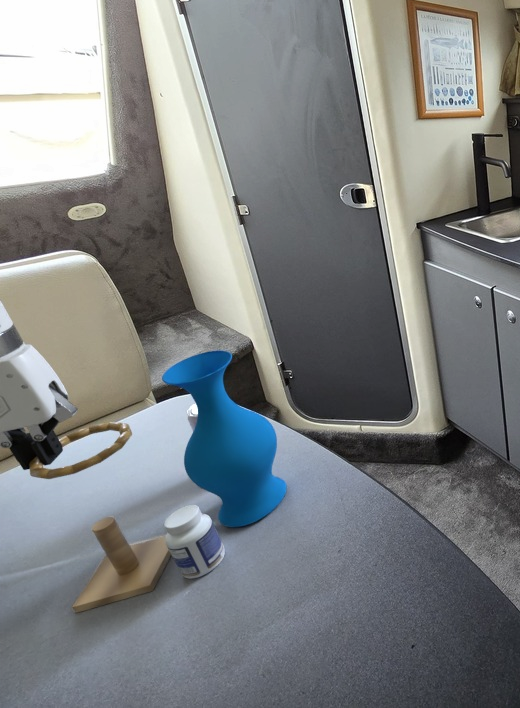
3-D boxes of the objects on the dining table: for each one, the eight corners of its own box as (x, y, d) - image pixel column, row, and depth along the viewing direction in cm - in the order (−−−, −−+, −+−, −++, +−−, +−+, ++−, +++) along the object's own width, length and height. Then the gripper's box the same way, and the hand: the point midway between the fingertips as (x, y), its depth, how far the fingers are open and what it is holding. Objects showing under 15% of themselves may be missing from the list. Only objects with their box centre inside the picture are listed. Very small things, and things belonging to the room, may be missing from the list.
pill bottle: (222, 540, 78) (201, 494, 75) (229, 562, 75) (207, 515, 71) (180, 563, 75) (155, 516, 71) (184, 587, 71) (159, 539, 67)
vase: (301, 467, 92) (256, 337, 81) (284, 522, 81) (229, 380, 70) (227, 485, 89) (169, 353, 78) (198, 546, 77) (127, 400, 67)
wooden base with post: (75, 613, 68) (41, 562, 65) (111, 556, 76) (83, 508, 73) (153, 590, 71) (124, 540, 67) (180, 538, 79) (156, 490, 75)
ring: (11, 489, 65) (7, 482, 64) (62, 437, 74) (58, 431, 74) (109, 467, 68) (105, 461, 67) (146, 420, 77) (143, 414, 77)
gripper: (-137, 379, 57) (-51, 497, 64) (35, 350, 62) (97, 463, 68) (-79, 347, 64) (-7, 457, 71) (72, 323, 68) (125, 428, 75)
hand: (44, 459), depth 69 cm, fingers closed on ring, 1 cm apart
